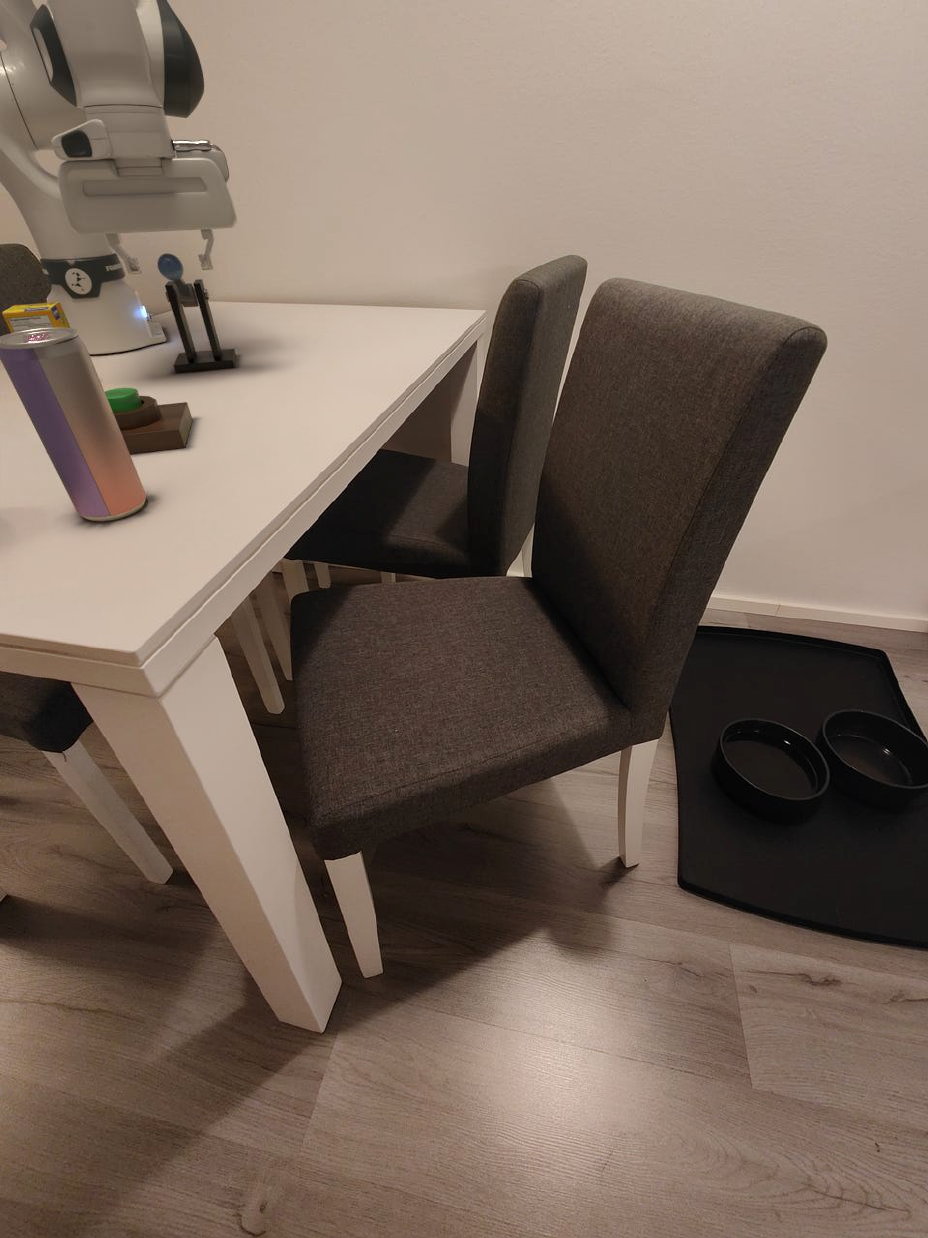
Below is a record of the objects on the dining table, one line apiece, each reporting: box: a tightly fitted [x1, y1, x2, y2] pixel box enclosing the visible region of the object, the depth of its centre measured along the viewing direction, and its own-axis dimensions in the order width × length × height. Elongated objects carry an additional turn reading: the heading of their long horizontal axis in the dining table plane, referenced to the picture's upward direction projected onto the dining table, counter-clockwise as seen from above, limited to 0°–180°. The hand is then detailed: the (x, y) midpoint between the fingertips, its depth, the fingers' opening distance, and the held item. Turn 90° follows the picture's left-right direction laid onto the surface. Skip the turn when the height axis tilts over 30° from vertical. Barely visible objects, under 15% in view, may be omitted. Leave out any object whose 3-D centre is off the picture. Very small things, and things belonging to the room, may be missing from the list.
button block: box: [113, 395, 193, 455], centre depth 66 cm, size 10×12×4 cm
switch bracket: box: [164, 278, 237, 374], centre depth 90 cm, size 8×9×12 cm
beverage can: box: [0, 327, 147, 522], centre depth 49 cm, size 6×6×15 cm
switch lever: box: [156, 252, 199, 308], centre depth 83 cm, size 13×3×3 cm, turn 16°
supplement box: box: [2, 302, 71, 333], centre depth 81 cm, size 6×6×11 cm
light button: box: [104, 387, 143, 412], centre depth 65 cm, size 4×4×2 cm
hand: (172, 271), depth 78 cm, fingers open, 8 cm apart
